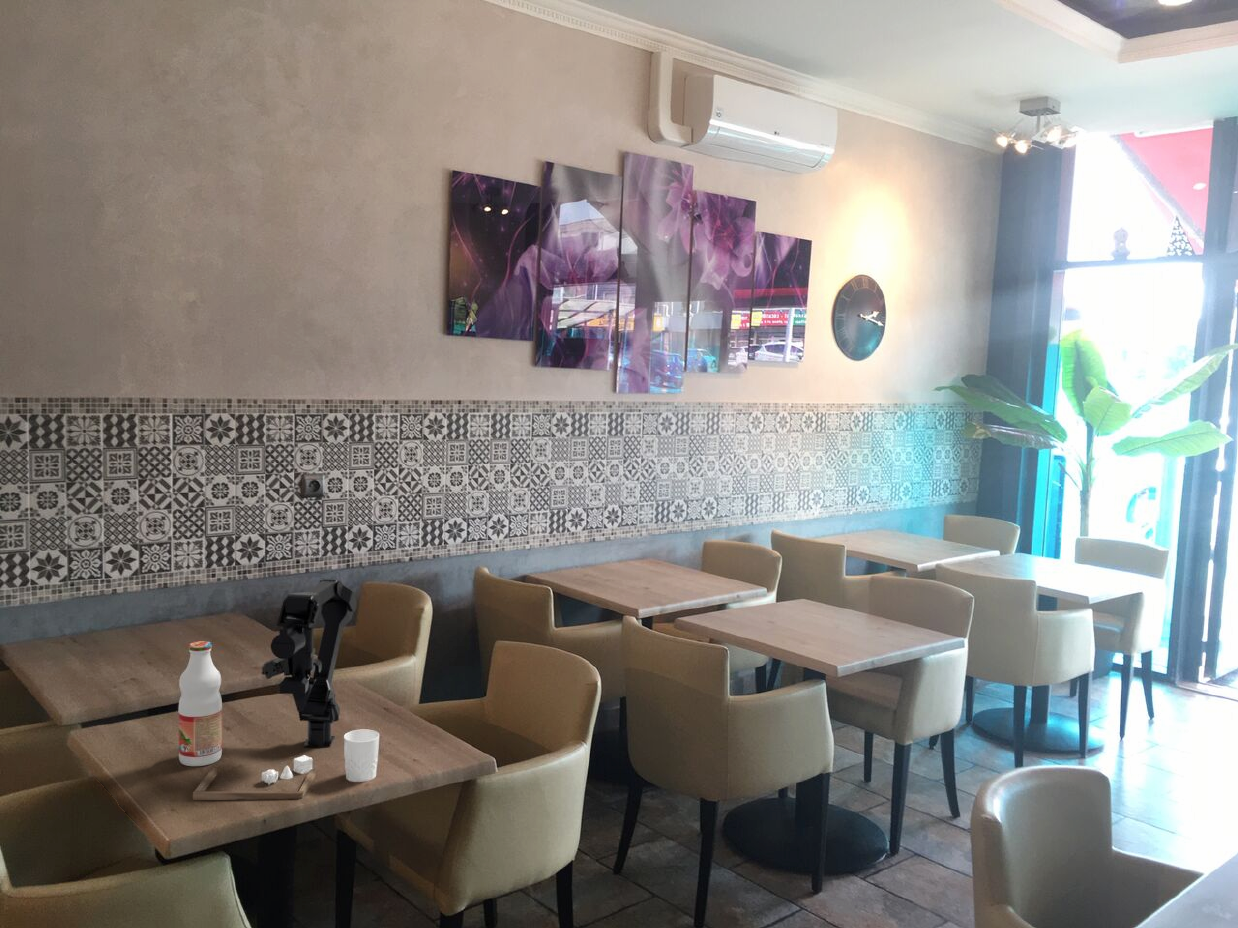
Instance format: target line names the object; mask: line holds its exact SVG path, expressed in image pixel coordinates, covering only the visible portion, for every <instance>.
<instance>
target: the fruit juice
mask: <svg viewBox="0 0 1238 928" xmlns="http://www.w3.org/2000/svg"><path fill="white" fill-rule="evenodd" d="M188 651H189V652H190V654H189V655H190V656H189V660H188V663H187V666H186V668H185V669H184V671H183V672H182V673H181V674H180V676H179V683H178V685H179V690H180V693H181V695H180V697H179V701H178V759H179V762H180V763H181V764H182V765H184V766H188V767H203V766H208V765H212V764H215V763H216V762H218V761H219V760H220V759H221V757H222V753H223V744H222V743H223V718H222V717H223V702H222V695H221V693H220V687H221V684H222V676H221V673H220V670H218V669H217V668H216V666H215V664H214V663H213V660H212V657H211V651H212V643H211V642H210V641H205V640H200V641H194V642H191V643H189V645H188Z"/></svg>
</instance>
